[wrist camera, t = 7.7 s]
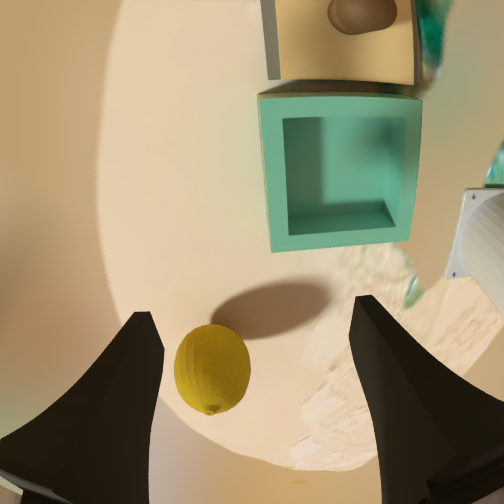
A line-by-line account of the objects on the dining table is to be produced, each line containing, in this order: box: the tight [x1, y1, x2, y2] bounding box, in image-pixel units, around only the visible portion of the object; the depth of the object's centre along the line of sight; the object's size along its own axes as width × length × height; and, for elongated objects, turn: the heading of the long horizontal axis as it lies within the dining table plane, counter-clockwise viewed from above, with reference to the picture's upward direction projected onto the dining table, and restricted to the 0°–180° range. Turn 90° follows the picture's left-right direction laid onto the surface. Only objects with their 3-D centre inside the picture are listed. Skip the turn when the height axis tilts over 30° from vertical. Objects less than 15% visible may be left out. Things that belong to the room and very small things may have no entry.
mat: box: [260, 0, 420, 83], centre depth 13 cm, size 9×8×1 cm
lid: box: [275, 0, 414, 85], centre depth 12 cm, size 8×8×4 cm
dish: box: [257, 91, 422, 253], centre depth 17 cm, size 8×8×3 cm
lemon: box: [174, 324, 251, 415], centre depth 22 cm, size 6×6×8 cm
